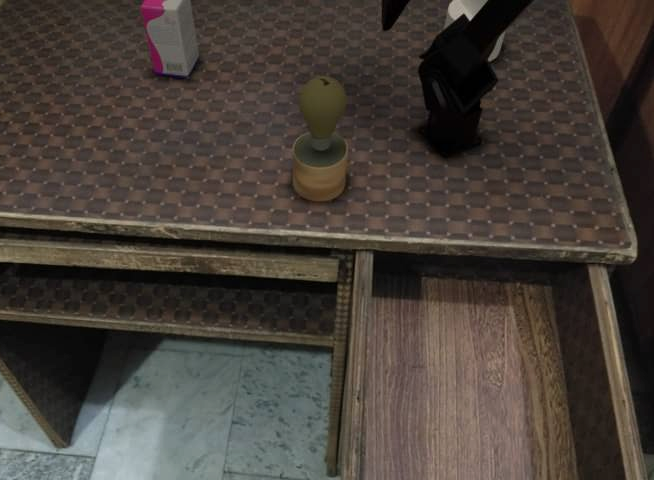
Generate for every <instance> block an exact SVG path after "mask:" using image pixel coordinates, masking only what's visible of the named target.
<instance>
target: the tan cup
mask: <svg viewBox="0 0 654 480" xmlns="http://www.w3.org/2000/svg"><path fill="white" fill-rule="evenodd" d="M291 149H292V185H293V189H294V190H295V192H296V194H298V195H299V196H300V197H301V198H303V199H305V200H308V201H310V202H327V201H331V200H333V199H335V198H337V197H339V196H340V195H341V194H342V193H343V191H344V190H345V188H346V182H347V181H346V180H347V171H348V170H347V168H348V157H349V156H348V155H349V146H348V143H347V142H346V140H345V139H344V138H343V137H342V136H341V135H340V134H337V133H336V132H333V134H332V135H331V145H330V147H329V148H328V149H326V150H321V151H320V150H316V149H314V148H313V147H312V145H311V133H310V131H308V132H305V133H303V134H302V135H300V136H299V137H298V138H296V140H295V141H294V143H293V145H292V148H291Z"/></svg>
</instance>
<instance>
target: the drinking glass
mask: <svg viewBox="0 0 654 480" xmlns="http://www.w3.org/2000/svg"><path fill="white" fill-rule="evenodd" d="M487 1H488V0H452V1H451V2H450V3H449V4H448V7H447V11H446V16H445V17H446V18H445V22H444V26H443V30H444V29H445V28H447V27H448V26H449V25H450V24H451V23H453V22H454V21H455V20H456V19H457V18H458V17H460V16H461V15H462V14H463V13H464V14H465V15H466V16H467V18H468V19H469V21H471V19H472V18H473V17H474V16H475V15H476V14H477V12H478V11H479V10H480V9H481V8H482V7H483V5H484V4H485V3H486V2H487ZM506 32H507V29H506V30H505V31H504V32H503V34H502V35H501V36H500V37H499V39H498V40H497V43H496V46H495V48H494V50H493V52H492V54H491V55H490V57H489V58H488V61H489V62H492V61H493V60H495V59H496V58H497V57H498V56H499V55H500V52H501V49H502V45H503V42H504V39H505V35H506Z"/></svg>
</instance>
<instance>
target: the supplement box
mask: <svg viewBox="0 0 654 480" xmlns="http://www.w3.org/2000/svg"><path fill="white" fill-rule="evenodd" d="M191 3H192V1H191V0H144V1H143V2H142V3H141V5H140V11H141V16H142V20H143V24H144V30H145V33H146V34H145V35H146V38H147V43H148V46H149V52H150V56H151V61H152V66H153V70H154V74H155V76H161V77H169V78H177V79H186V80H188V79H189V78H190V77H191V75H192V73H193V71H194V69H195V68H196V66H197V63H198V61H199V60H200V53H199V52H200V51H199V46H198V39H197V34H196V27H195V22H194V21H195V20H194V15H193V9H192V4H191Z"/></svg>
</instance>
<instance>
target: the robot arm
mask: <svg viewBox="0 0 654 480" xmlns="http://www.w3.org/2000/svg"><path fill="white" fill-rule="evenodd" d="M534 1H535V0H488V1H487V2H486V3H485V4H484V5H483V7H482V8H481V9H480V10H479V11H478V12H477V14H476V15H475V16H474V17H473V18H472V19H471V21H469V19H468V18H467V16H466V15H465V14H464V13H463V14H462V15H461V16H460V17H458V18H457V19H456V20H455V21H454V22H453V23H451V24H450V25H449V26H448V27H447V28H445V29H444V28H443V30H442V31H440V32H439V33H438V34H437V35H436V37H434V39H433V41H432V43H431V45H430V46H429V47H428V48H427V49H426V50H425V51H424V52H422V53H420V55H419V57H418V58H419V59H421V60H422V61H420V63H419V66H418V69H417V74H418V76H419V80H420V83H421V89H422V95H423V100H424V101H423V102H424V107H425V110H426V111H428V112H429V113H428V116H427V123H425V124H421V125H420V126H418V129H417V131H418V132H419V134H420V135H421V136H422V138H424V139H425V141H426V142H428V144H429V145H430V146H431V147H432V149H434V150H435V151H436V152H437V153H438V155H440V157H442V158H446V157H449V156H452V155H455V154H457V153H460V152H462V151H465V150H467V149H470V148H472V147H475V146H477V145H478V146H479V145H480V144H483V139H484V138H483V137H481V135H480V134H479V133H478V131H477V130H478V127H479V124H480V122H481V121H480V120H481V117H482V114H483V110H484V109H483V107H482V106H481V103H482V101H481V100H482V99H483V98H484V97H485V96H486V95H487V94H488V93H490V92H491V91H492V90H493V89H494V87H495V86H496V85H497V84H498V83H499V77H498V76H497V74H496V73H495V70H494V68H493V67H492V65H491V63H490V61H488V58H489V57H490V55H491V54H492V52H493V50H494V48H495V46H496V43H497V40H498V39H499V37H500V36H501V35H502V34H503V32H504V31H505V30H506V31H507V30H508V29H509V28H510V26H511V25H512V24H514V22H515V21H516V20H517V19H518V18H519V17H520V16H521V15H522V14H523V13H524V12H525V11H526V10H527V9H528V8H529V7H530V6H531V4H532V3H534ZM410 2H411V0H381V30H382V32H387V31H390V30H392V28H393V26H394V25H395V24H396V22H397V20H398V19H399V18H400V16H401V15H402V14H403V12H404V10H405V9H406V7H408V5H409V3H410Z"/></svg>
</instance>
